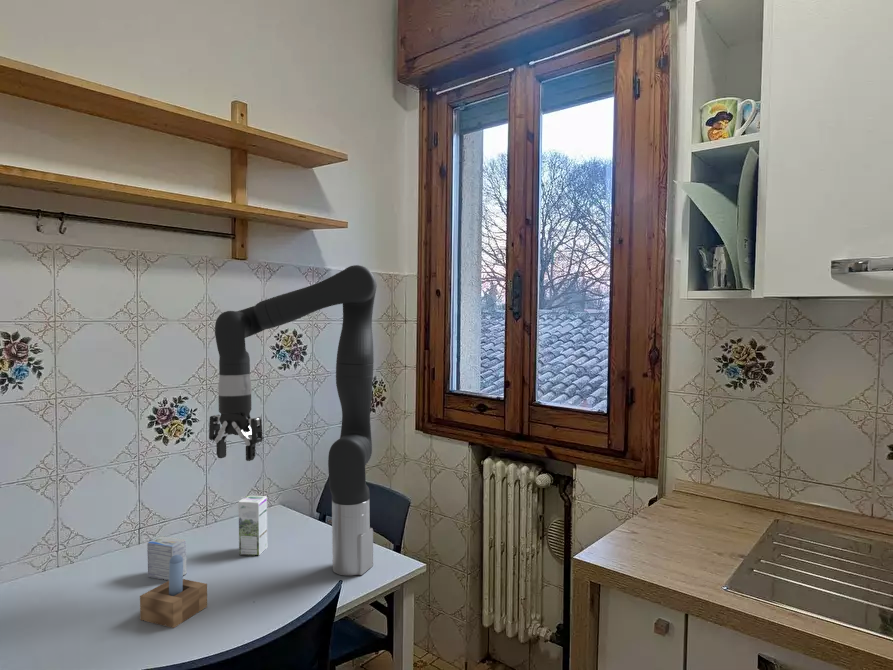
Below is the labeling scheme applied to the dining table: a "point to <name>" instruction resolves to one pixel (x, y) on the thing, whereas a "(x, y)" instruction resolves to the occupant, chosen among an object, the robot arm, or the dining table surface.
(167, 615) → the hollow square block
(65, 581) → the dining table surface
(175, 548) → the medicine box
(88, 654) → the dining table surface
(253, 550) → the syrup box
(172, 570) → the blue rounded rod
